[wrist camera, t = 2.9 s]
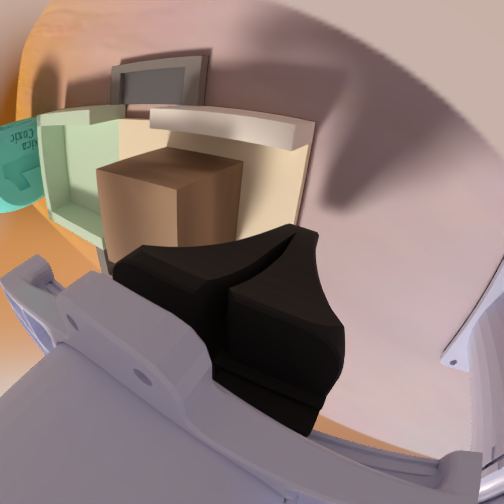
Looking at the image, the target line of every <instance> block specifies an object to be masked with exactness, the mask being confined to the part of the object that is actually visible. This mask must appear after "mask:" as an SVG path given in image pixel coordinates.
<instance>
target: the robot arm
mask: <svg viewBox="0 0 504 504" xmlns="http://www.w3.org/2000/svg"><path fill="white" fill-rule="evenodd" d="M318 238H319V235H318V233H317V232H315V231H312V230H309V229H306V228H303V227H299V226H296V225H293V224H290V223H289V224H285V225H283V226H280V227H277V228H275V229H272V230H269V231H266V232H263V233H261V234H258V235H254V236H251V237H248V238H244V239H241V240H237V241H232V242H227V243H222V244H214V245H205V246H193V247H166V246H152V245H141V246H140V247H138V248H137V249H135V250H134V251H132V252H131V253H129V254H128V255H126V256H125V257H123V258H122V259H121V260H119V261H118V262H116V264H115V266H114V267H113V275H112V277H113V279H111V278H110V277H108V276H106V275H104V274H101V273H98V272H95V271H89V272H88V273H87V274H85V275H84V276H82V277H81V278H80V279H78V280H77V281H75V282H74V283H72V284H71V285H69V286H68V287H67V288H64V287H63V286H62V285H61V284H60V283H58V282H57V281H56V280H55V279H54V275H53V272H52V269H51V267H50V265H49V263H48V262H47V261H46V260H45V259H43V258H42V257H41V256H40V255H39V254H36V255H35V256H33V257H32V258H30V259H28V260H27V261H25V262H24V263H22V264H21V265H19V266H18V267H16V268H15V269H13V270H12V271H10V272H9V273H7V274H6V275H5V276H3V277H2V278H0V283H1V286H2V288H3V290H4V292H5V295H6V296H7V299H8V301H9V303H10V305H11V307H12V309H13V311H14V312H15V314H16V316H17V318H18V320H19V321H20V323H21V324H22V326H23V327H24V328H25V330H26V331H27V332H28V334H29V335H30V336H31V337H32V339H33V340H34V341H35V343H36V344H37V345H38V347H39V348H40V349H41V350H42V352H43V353H44V354H45V355H46V356H45V357H44V358H42V359H41V360H40V361H39V362H38V363H37V364H36V365H35V366H34V367H32V368H31V369H30V370H29V371H28V372H27V373H26V374H25V375H24V376H22V377H21V378H20V379H19V380H18V381H17V382H16V383H15V384H14V385H13V386H12V387H11V388H10V389H9V390H8V391H6V392H5V393H4V394H3V395H2V396H1V397H0V504H504V259H503V261H502V263H501V265H500V266H499V268H498V270H497V272H496V274H495V276H494V278H493V279H492V281H491V283H490V285H489V286H488V288H487V290H486V292H485V293H484V295H483V297H482V298H481V300H480V301H479V303H478V305H477V306H476V308H475V309H474V311H473V312H472V314H471V315H470V317H469V318H468V320H467V321H466V323H465V324H464V325H463V327H462V328H461V330H460V331H459V332H458V334H457V335H456V337H455V338H454V339H453V341H452V342H451V343H450V344H449V346H448V347H447V348H446V350H445V351H444V352H443V353H442V355H441V356H440V362H441V364H442V365H445V366H448V367H451V368H455V369H458V370H462V371H465V372H468V373H469V375H470V388H471V413H472V428H471V451H454V452H451V453H449V454H447V455H445V456H444V457H443V458H441V459H440V460H438V459H430V458H424V457H417V456H411V455H406V454H400V453H396V452H391V451H387V450H382V449H378V448H373V447H370V446H366V445H362V444H358V443H355V442H350V441H348V440H344V439H341V438H338V437H334V436H331V435H328V434H325V433H322V432H319V431H316V430H313V426H314V424H315V422H316V419H317V416H318V414H319V411H320V410H321V409H322V407H323V405H324V402H325V399H326V397H327V395H328V393H329V392H330V390H331V389H332V387H333V386H334V384H335V383H336V381H337V380H338V378H339V377H340V374H341V372H342V369H343V364H344V357H345V331H344V326H343V324H342V323H341V322H340V320H339V319H338V317H337V316H336V315H335V313H334V312H333V311H332V309H331V307H330V305H329V303H328V301H327V299H326V297H325V294H324V292H323V289H322V286H321V283H320V280H319V276H318V271H317V265H316V245H317V242H318ZM452 360H453V361H452Z"/></svg>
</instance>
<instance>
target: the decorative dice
mask: <svg viewBox="0 0 504 504" xmlns="http://www.w3.org/2000/svg"><path fill="white" fill-rule="evenodd" d="M43 196H45V193H44V187H43V180H42V173H41V166H40V157H39V147H38V135H37V117H33V118H28V119H23V120H19V121H16V122H13V123H9V124H6V125H3V126H1V127H0V213H4V212H11V211H15V210H18V209H21V208H23V207H26V206H28V205H30V204H32V203H34V202H36V201H38V200H39V199H41V198H42V197H43Z"/></svg>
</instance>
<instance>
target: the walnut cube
mask: <svg viewBox="0 0 504 504" xmlns="http://www.w3.org/2000/svg"><path fill="white" fill-rule="evenodd" d="M243 163H244V161H240V160H235V159H231V158H226V157H221V156H216V155H211V154H206V153H200V152H195V151H189V150H183V149H177V148H171V147H164V148H160V149H157V150H153V151H150V152H146V153H143V154H139V155H136V156H133V157H130V158H127V159H124V160H121V161H117V162H115V163H112V164H109V165H106V166H103V167H100V168H97V169H96V179H97V188H98V197H99V205H100V212H101V219H102V226H103V232H104V238H105V243H106V249H107V254H108V259H109V260H110V261H111V262H113V263H115V264H116V262H118V261H119V260H121V259H122V258H123V257H125V256H126V255H128V254H129V253H131V252H132V251H134V250H135V249H137V248H138V247H140V246H141V245H152V246H166V247H193V246H205V245H214V244H222V243H227V242H232V241H236V232H237V222H238V212H239V202H240V192H241V182H242V173H243Z"/></svg>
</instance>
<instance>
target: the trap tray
mask: <svg viewBox="0 0 504 504" xmlns="http://www.w3.org/2000/svg"><path fill="white" fill-rule="evenodd" d="M208 58H209V57H207V56H186V57H174V58H164V59H156V60H148V61H141V62H135V63H129V64H124V65H118V66H113V67H112V77H111V100H110V104H109V105H94V106H83V107H73V108H64V109H60V110H55V111H51V112H47V113H43V114H40V115H37V135H38V147H39V157H40V166H41V173H42V180H43V187H44V193H45V198H46V203H47V208H48V213H49V218H50V219H51V220H53V221H55V222H56V223H58V224H59V225H61V226H63V227H64V228H66V229H68V230H69V231H71V232H73V233H74V234H76V235H78V236H80V237H81V238H83V239H85V240H86V241H88V242H90V243H92V244H93V245H95V246H96V248H97V253H98V258H99V262H100V266H101V271H102V274H104V275H106V276H108V277H110V278H111V279H113V277H112V275H113V267H114V266H115V263H113V262H111V261H110V260H109V259H108V254H107V249H106V243H105V238H104V232H103V226H102V219H101V212H100V205H99V197H98V188H97V179H96V169H97V168H100V167H103V166H106V165H109V164H112V163H115V162H117V161H121V160H124V159H127V158H130V157H133V156H136V155H139V154H143V153H146V152H150V151H153V150H157V149H160V148H164V147H171V148H177V149H183V150H189V151H195V152H200V153H206V154H211V155H216V156H221V157H226V158H231V159H235V160H240V161H244V163H243V173H242V182H241V192H240V202H239V212H238V222H237V232H236V241H237V240H241V239H244V238H248V237H251V236H254V235H258V234H261V233H263V232H266V231H269V230H272V229H275V228H277V227H280V226H283V225H285V224H289V223H290V224H293V225H296V223H297V218H298V214H299V209H300V204H301V199H302V194H303V188H304V183H305V178H306V173H307V167H308V162H309V157H310V151H311V145H312V140H313V134H314V128H315V122H312V121H308V120H303V119H298V118H293V117H288V116H282V115H276V114H270V113H264V112H257V111H250V110H242V109H234V108H225V107H214V106H204V98H205V87H206V77H207V67H208ZM126 104H177V105H178V106H168V107H158V108H150V119H144V118H126Z"/></svg>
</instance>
